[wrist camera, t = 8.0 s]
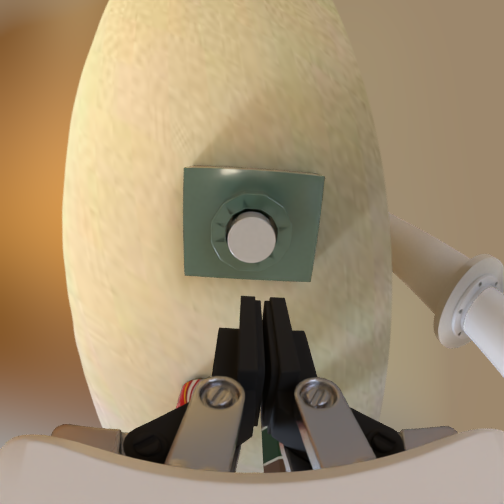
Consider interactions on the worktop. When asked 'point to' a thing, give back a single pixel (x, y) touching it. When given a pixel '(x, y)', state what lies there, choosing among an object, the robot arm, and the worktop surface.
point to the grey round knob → (251, 237)
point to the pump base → (250, 200)
